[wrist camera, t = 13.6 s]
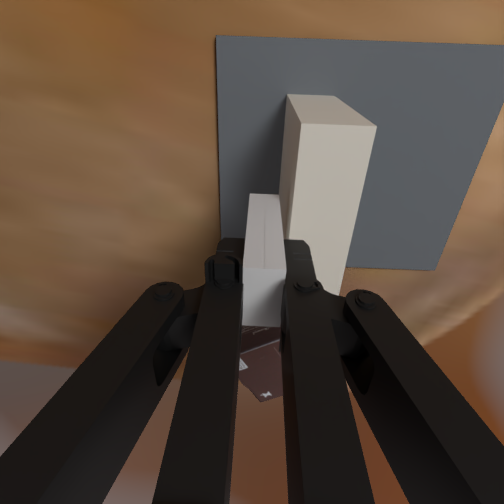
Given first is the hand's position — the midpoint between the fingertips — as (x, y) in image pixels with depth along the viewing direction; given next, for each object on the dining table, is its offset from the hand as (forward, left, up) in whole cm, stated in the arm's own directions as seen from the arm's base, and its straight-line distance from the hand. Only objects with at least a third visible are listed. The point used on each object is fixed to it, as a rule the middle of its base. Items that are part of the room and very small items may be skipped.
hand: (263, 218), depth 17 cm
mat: (+6, 0, -8) cm, 10 cm away
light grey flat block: (+3, 0, -7) cm, 8 cm away
